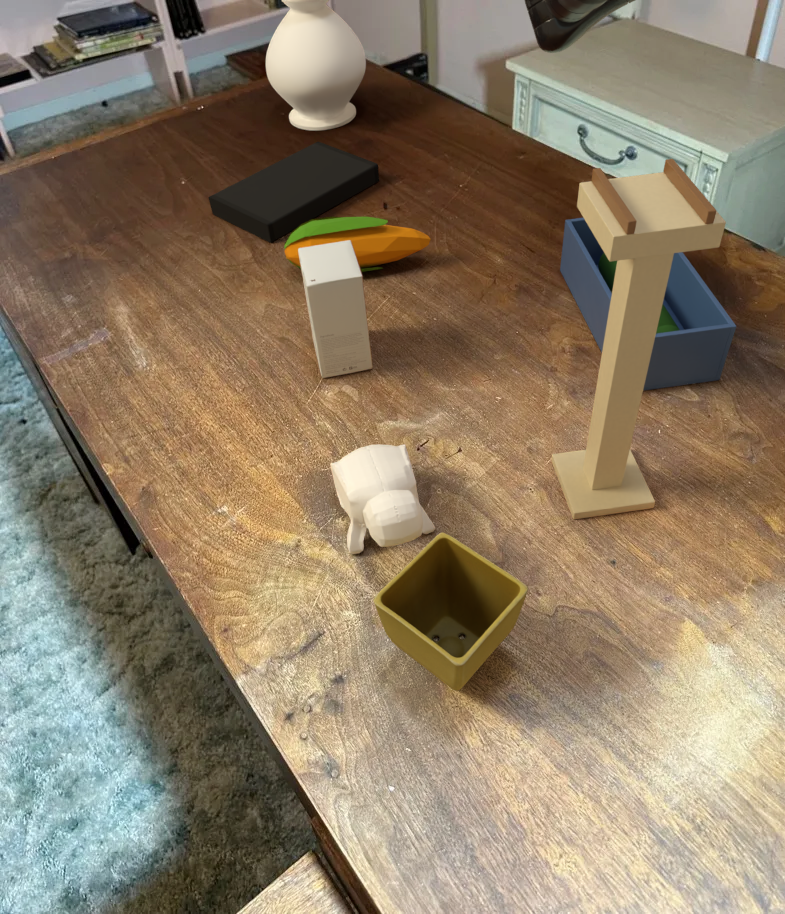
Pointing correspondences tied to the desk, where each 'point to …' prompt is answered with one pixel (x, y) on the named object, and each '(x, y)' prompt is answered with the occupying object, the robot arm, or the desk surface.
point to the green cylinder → (608, 274)
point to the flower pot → (450, 609)
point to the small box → (336, 307)
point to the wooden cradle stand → (630, 323)
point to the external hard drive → (293, 190)
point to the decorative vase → (315, 65)
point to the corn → (357, 239)
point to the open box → (686, 299)
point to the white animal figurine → (380, 496)
